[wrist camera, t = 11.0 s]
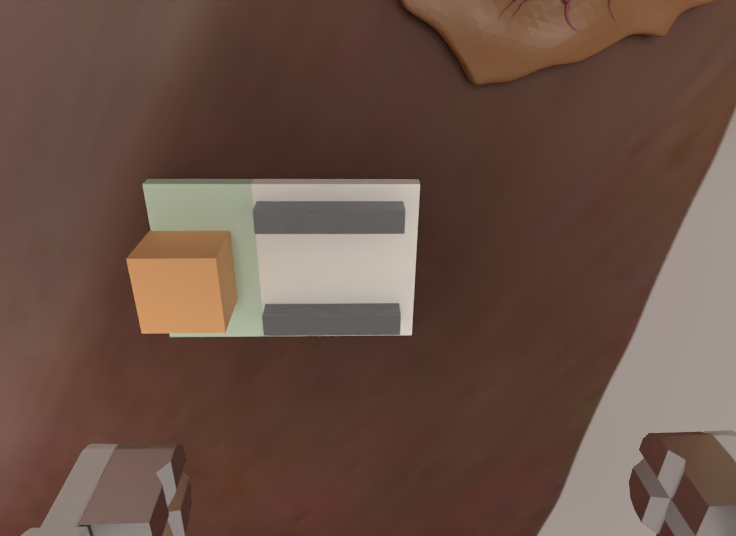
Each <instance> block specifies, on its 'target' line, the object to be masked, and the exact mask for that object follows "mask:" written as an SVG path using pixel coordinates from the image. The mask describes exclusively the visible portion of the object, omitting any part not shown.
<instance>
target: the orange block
mask: <svg viewBox="0 0 736 536" xmlns="http://www.w3.org/2000/svg"><path fill="white" fill-rule="evenodd" d="M126 261H127V265H128V270H129V275H130V280H131V284H132V289H133V294H134V299H135V303H136V308H137V313H138V318H139V322H140V327H141V332H142V334H146V333H226V330H227V327H228V325H229V322H230V319H231V316H232V314H233V311H234V308H235V305H236V303H237V300H238V299H237V290H236V281H235V272H234V264H233V255H232V246H231V237H230V231H149V232H148V233H147V234H146V235H145V237H144V238H143V239H142V240H141V241H140V243H139V244H138V245H137V246H136V247H135V249H134V250H133V251H132V252H131V253H130V255H129V256H128V257H127V258H126Z"/></svg>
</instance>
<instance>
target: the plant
mask: <svg viewBox="0 0 736 536" xmlns="http://www.w3.org/2000/svg"><path fill="white" fill-rule="evenodd" d="M712 1H714V0H400V2H401V3H402V5H403V6H404V7H405V9H407V10H408V11H409V12H410V13H412V14H413V15H415V16H417V17H418V18H420V19H422V20H423V21H425V22H426V23H428V24H429V25H430V26H432V27H433V28H434V29H435V30H436V31H437V32H438V33H439V34H440V35H441V36H442V38H443V39H444V40H445V42H446V43H447V44H448V46H449V47H450V49H451V50H452V51H453V53H454V54H455V56H456V57H457V59H458V60H459V62H460V64H461V66H462V68H463V70H464V73H465V75H466V77H467V79H468V80H469V81H471V82H472V83H474V84H477V85H481V84H488V83H500V82H509V81H513V80H516V79H519V78H522V77H524V76H526V75H528V74H531V73H533V72H535V71H538V70H541V69H543V68H546V67H549V66H554V65H560V64H569V63H575V62H579V61H581V60H584V59H586V58H588V57H590V56H592V55H594V54H596V53H598V52H600V51H601V50H603V49H605V48H607V47H609V46H611V45H612V44H614V43H616V42H618V41H619V40H621V39H623V38H625V37H626V36H630V35H633V34H644V35H649V36H654V37H664V36H665V35H666V34H667V32H668V30H669V29H670V27H671V25H672V24H673V22H674V21H675V20H676V18H677V17H678V16H679V15H680V14H682V13H683V12H684V11H686V10H688V9H690V8H693V7H696V6H700V5H704V4H707V3H710V2H712Z"/></svg>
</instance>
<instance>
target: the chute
mask: <svg viewBox="0 0 736 536" xmlns="http://www.w3.org/2000/svg"><path fill="white" fill-rule="evenodd" d="M142 185H143V191H144V196H145V202H146V207H147V213H148V219H149V224H150V230H151V231H230V237H231V246H232V255H233V264H234V272H235V281H236V290H237V299H238V300H237V303H236V305H235V308H234V311H233V314H232V316H231V319H230V322H229V325H228V327H227V330H226V333H169V334H170V337H243V336H376V335H412V323H413V305H414V287H415V269H416V251H417V233H418V215H419V196H420V182H419V179H147V180H146V181H145V182H144V183H143V184H142Z"/></svg>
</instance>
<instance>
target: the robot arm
mask: <svg viewBox="0 0 736 536" xmlns="http://www.w3.org/2000/svg"><path fill="white" fill-rule="evenodd" d="M639 450H640V452H641V453H642V455H643V457H644V459H643V460H642V461H641V462H639V463H638V464H637V465H636V466H634V467H633V469H632V473H631V477H630V480H629V486H630V497H631V500H632V503H633V506H634V509H635V511H636V513H637V515H638V517H639V518H640V520H641V522H642V523H643V524H645V525H646V526H647V527H649V528H650V529H651V530H653V531H654V532H655V533H657V535H656V536H736V432H734V431H705V432H677V433H675V432H674V433H649V434H648V435H646V437H644V438H643V440H642V443H641V446H640V449H639ZM185 461H186V458H185V453H184V448H183V445H181V444H167V443H121V444H89V445H88V446H87V447H86V448H85V449H84V450H83V451H82V452H81V454H80V456H79V457H78V459H77V461H76V463H75V465H74V467H73V468H72V470H71V472H70V474H69V476H68V478H67V479H66V481H65V483H64V485H63V487H62V489H61V490H60V492H59V494H58V496H57V498H56V500H55V501H54V503H53V505H52V507H51V509H50V511H49V512H48V514H47V516H46V518H45V520H44V522H43V523H42V525H41V527H40V528H30V529H29V530H27V531H26V532H25V533H23V534H22V535H21V536H185V535H186V531H187V527H188V523H189V517H190V509H191V486H190V480H189V478H188V477H187V476H186V475H184V474H183V473H182V471H183V468H184V465H185Z"/></svg>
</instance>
